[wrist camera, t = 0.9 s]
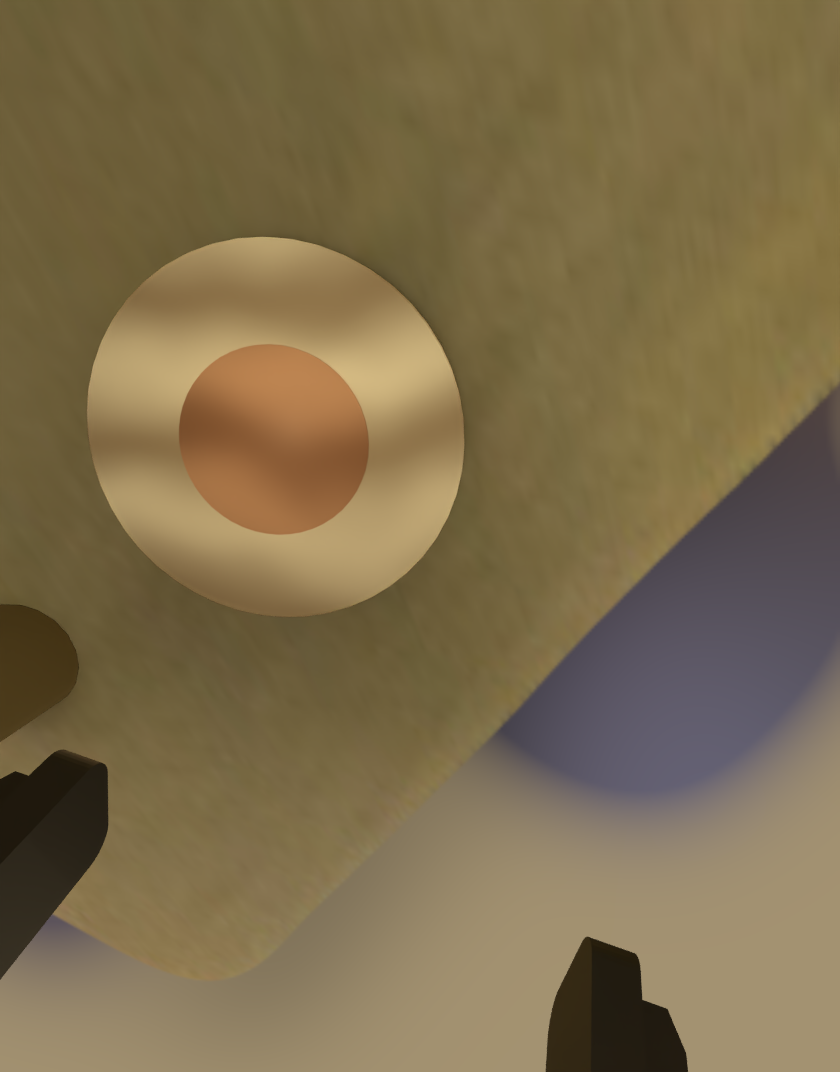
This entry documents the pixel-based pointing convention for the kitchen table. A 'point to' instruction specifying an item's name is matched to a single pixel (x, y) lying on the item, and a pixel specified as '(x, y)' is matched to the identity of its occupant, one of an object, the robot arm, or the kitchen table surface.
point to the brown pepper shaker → (32, 666)
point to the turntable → (275, 426)
